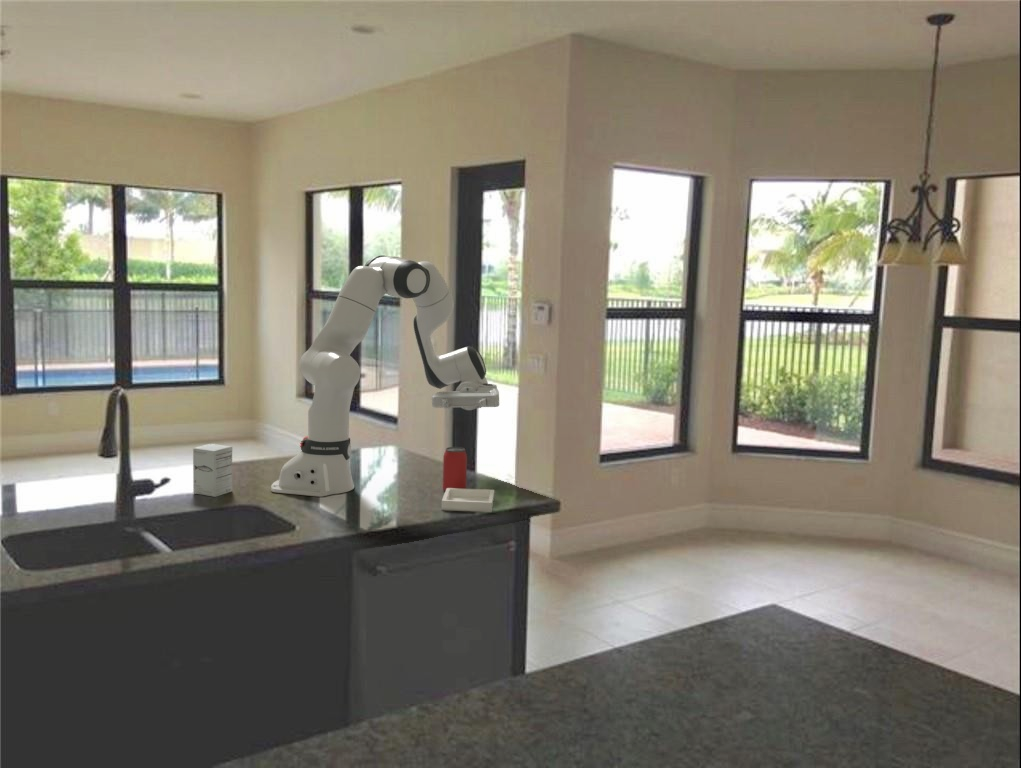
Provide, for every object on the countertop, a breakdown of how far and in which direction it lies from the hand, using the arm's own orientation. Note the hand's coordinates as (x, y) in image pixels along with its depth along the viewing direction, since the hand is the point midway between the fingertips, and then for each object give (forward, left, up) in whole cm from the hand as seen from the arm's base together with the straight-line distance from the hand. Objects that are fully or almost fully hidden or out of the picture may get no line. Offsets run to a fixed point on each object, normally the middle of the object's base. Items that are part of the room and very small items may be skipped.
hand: (462, 405), depth 244 cm
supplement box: (-65, -23, -23) cm, 72 cm away
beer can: (-1, -11, -23) cm, 25 cm away
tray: (+4, -24, -23) cm, 33 cm away
